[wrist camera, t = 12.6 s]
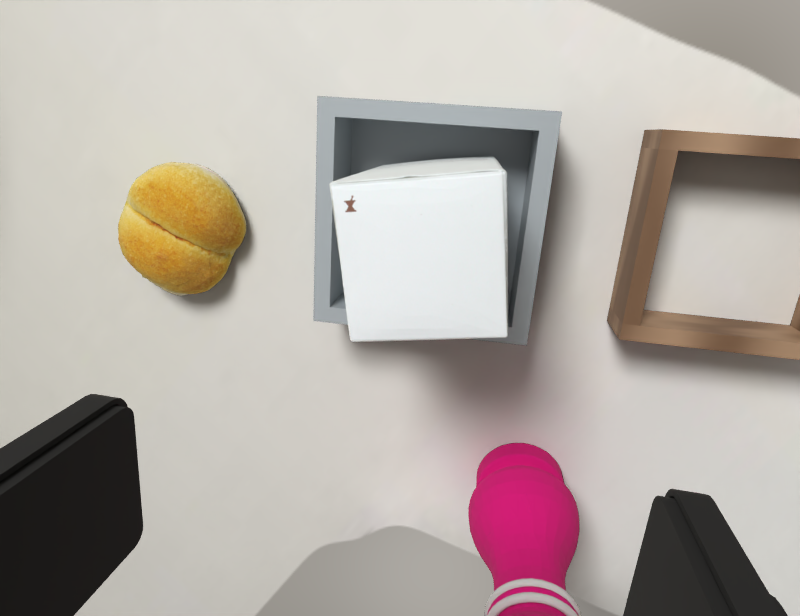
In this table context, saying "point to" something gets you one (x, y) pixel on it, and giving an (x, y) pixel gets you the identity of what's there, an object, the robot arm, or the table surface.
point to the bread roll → (181, 227)
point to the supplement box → (424, 250)
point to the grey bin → (427, 140)
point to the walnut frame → (643, 243)
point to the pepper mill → (525, 531)
